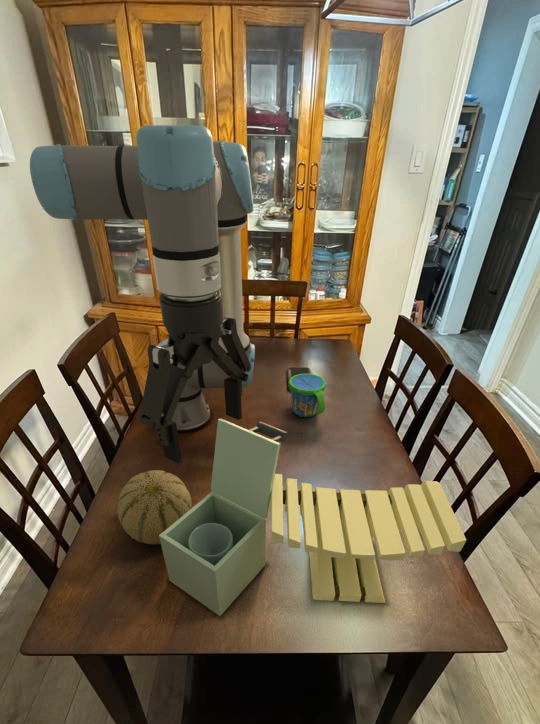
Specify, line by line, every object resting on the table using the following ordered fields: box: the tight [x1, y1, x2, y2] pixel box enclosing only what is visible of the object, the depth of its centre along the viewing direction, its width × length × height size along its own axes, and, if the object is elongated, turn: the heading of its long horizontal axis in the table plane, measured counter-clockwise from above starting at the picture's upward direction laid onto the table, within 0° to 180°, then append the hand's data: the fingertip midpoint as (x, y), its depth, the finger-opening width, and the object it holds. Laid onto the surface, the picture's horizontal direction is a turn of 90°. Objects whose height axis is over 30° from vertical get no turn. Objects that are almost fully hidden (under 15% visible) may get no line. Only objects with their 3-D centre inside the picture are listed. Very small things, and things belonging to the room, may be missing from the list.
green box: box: [159, 491, 267, 617], centre depth 76 cm, size 14×13×13 cm
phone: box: [287, 366, 311, 390], centre depth 140 cm, size 8×1×15 cm
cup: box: [188, 523, 234, 566], centre depth 75 cm, size 8×8×10 cm
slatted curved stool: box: [269, 473, 467, 604], centre depth 75 cm, size 30×16×18 cm, turn 89°
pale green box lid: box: [210, 418, 290, 520], centre depth 76 cm, size 14×13×9 cm
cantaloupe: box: [116, 469, 193, 545], centre depth 83 cm, size 15×15×15 cm
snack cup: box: [288, 373, 327, 418], centre depth 122 cm, size 16×10×10 cm
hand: (205, 436), depth 63 cm, fingers open, 13 cm apart
